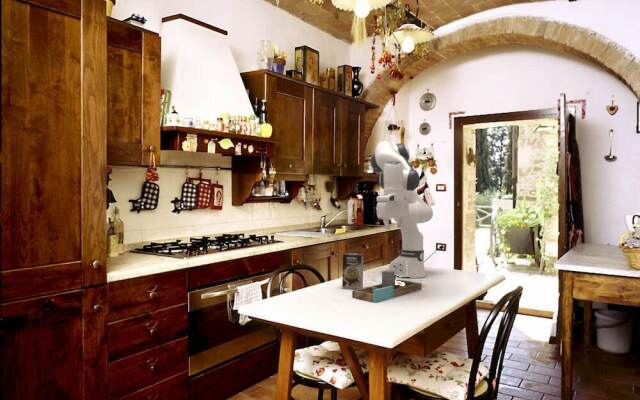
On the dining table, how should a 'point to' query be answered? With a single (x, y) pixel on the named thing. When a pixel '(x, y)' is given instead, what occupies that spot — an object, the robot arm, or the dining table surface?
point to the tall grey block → (388, 279)
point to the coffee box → (352, 271)
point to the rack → (385, 291)
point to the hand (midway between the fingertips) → (393, 228)
